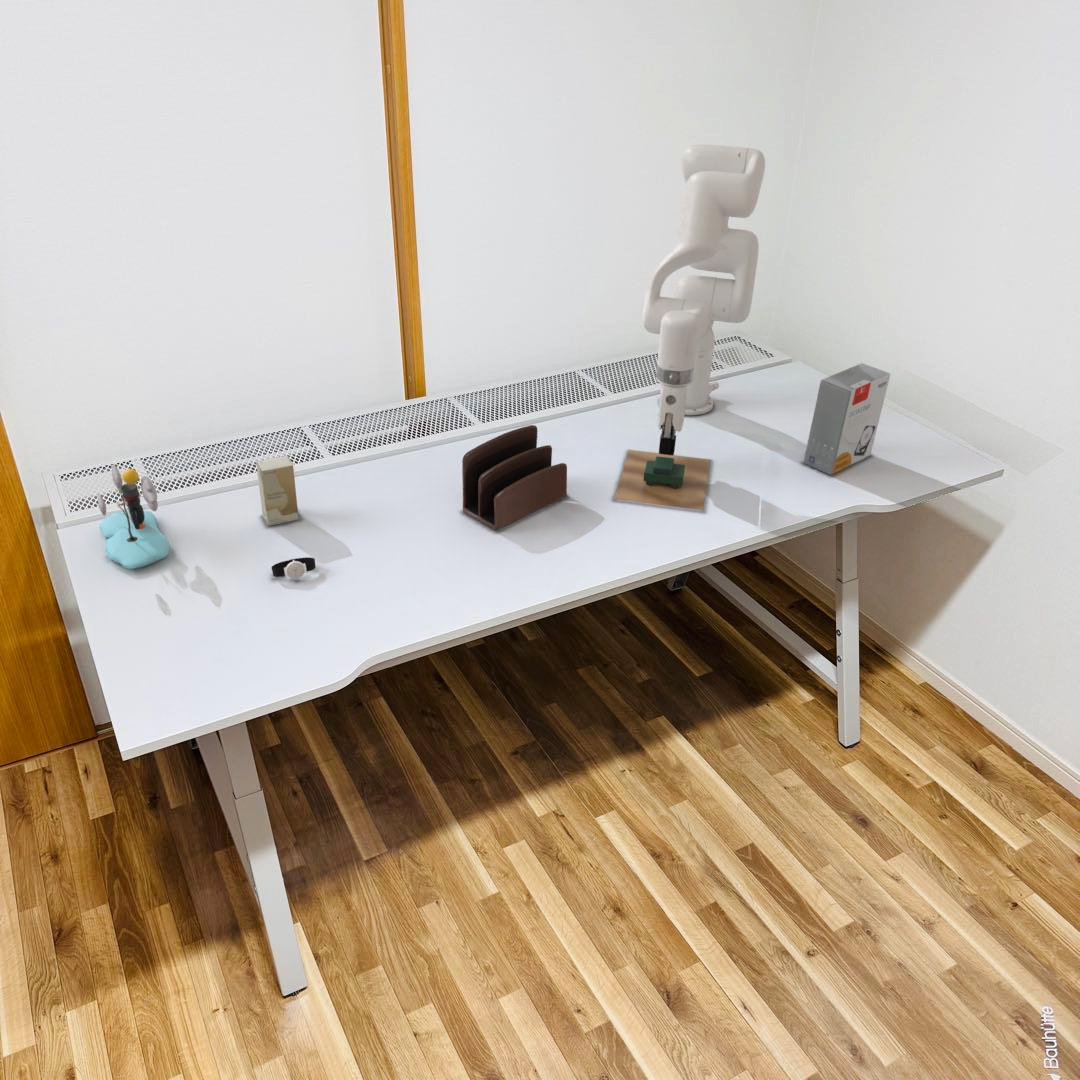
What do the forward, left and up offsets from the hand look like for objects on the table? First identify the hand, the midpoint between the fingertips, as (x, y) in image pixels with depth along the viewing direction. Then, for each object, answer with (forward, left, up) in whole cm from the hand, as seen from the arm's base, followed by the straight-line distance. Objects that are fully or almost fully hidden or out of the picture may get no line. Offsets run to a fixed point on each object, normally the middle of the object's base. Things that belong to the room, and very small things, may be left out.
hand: (666, 452), depth 210 cm
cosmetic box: (+72, -36, -4) cm, 81 cm away
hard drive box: (-33, +22, -4) cm, 40 cm away
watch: (+80, -18, -4) cm, 82 cm away
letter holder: (+34, -10, -4) cm, 36 cm away
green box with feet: (+2, +2, -2) cm, 3 cm away
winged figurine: (+97, -46, -4) cm, 107 cm away
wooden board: (+3, +3, -4) cm, 6 cm away
